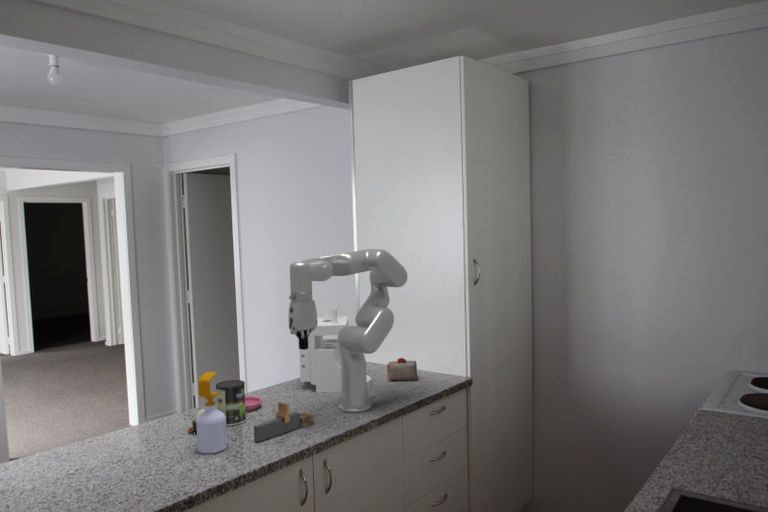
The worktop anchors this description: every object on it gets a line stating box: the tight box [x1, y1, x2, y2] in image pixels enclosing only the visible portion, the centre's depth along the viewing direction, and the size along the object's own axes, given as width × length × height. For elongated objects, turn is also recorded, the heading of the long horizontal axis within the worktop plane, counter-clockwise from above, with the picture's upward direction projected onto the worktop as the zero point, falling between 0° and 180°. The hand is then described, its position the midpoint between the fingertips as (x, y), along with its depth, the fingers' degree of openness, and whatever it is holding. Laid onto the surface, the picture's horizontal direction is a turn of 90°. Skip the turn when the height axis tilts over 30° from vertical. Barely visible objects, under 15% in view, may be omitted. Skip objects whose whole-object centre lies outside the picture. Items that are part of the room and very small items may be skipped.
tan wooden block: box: [275, 401, 290, 423], centre depth 206 cm, size 2×5×6 cm, turn 49°
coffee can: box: [215, 379, 247, 427], centre depth 220 cm, size 10×10×14 cm
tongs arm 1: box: [253, 411, 298, 442], centre depth 205 cm, size 18×1×5 cm, turn 140°
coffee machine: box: [298, 303, 372, 394], centre depth 266 cm, size 24×30×35 cm
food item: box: [386, 357, 418, 381], centre depth 272 cm, size 14×8×10 cm, turn 89°
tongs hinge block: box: [299, 412, 315, 429], centre depth 214 cm, size 5×4×4 cm
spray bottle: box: [196, 371, 228, 455], centre depth 193 cm, size 9×9×25 cm
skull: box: [187, 408, 205, 435], centre depth 212 cm, size 12×10×10 cm
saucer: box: [245, 395, 263, 412], centre depth 236 cm, size 12×12×3 cm
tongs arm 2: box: [255, 412, 301, 443], centre depth 204 cm, size 18×1×5 cm, turn 139°
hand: (303, 348), depth 213 cm, fingers closed
